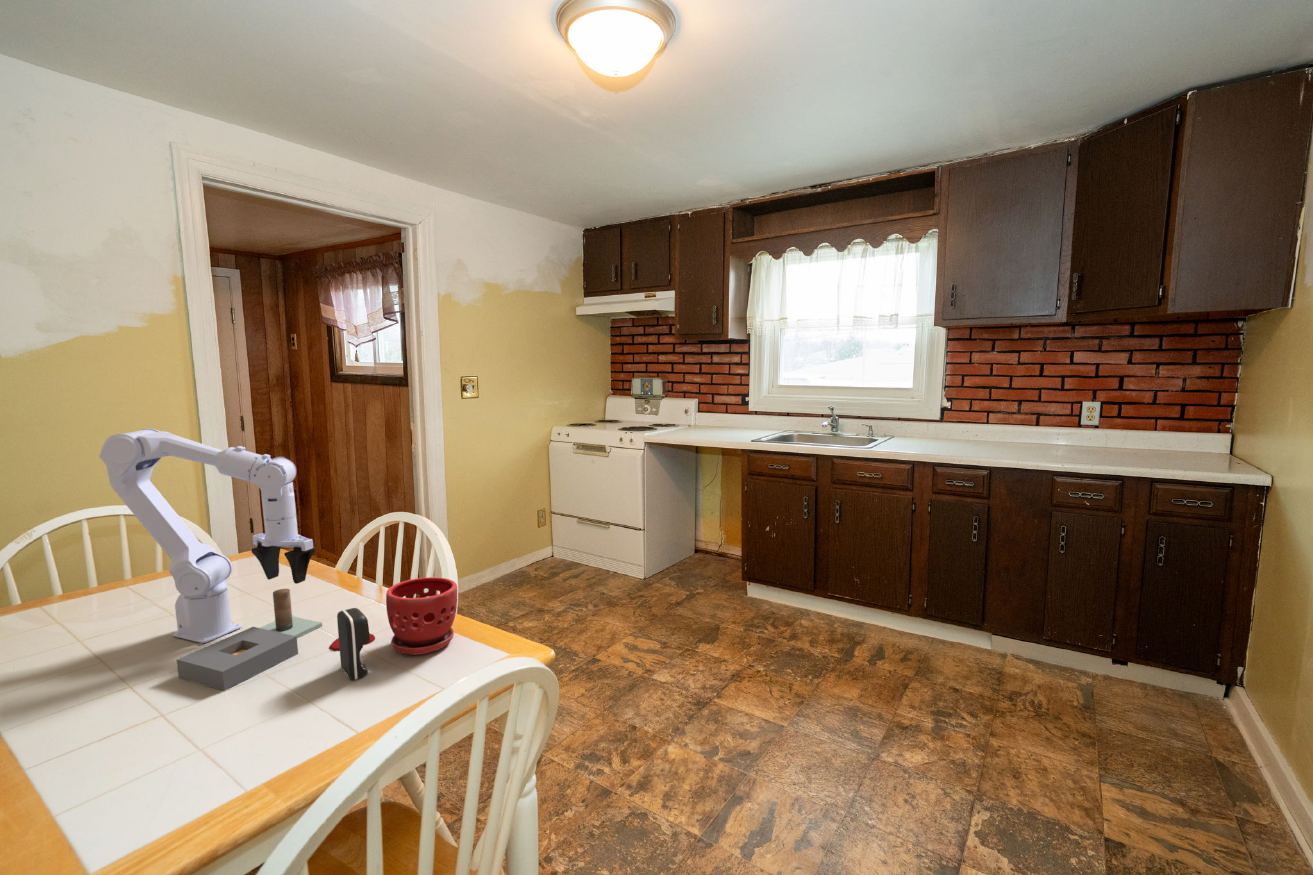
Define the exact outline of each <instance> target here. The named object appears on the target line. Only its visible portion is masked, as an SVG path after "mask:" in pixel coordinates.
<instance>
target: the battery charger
mask: <svg viewBox="0 0 1313 875" xmlns="http://www.w3.org/2000/svg"><path fill="white" fill-rule="evenodd" d="M336 617H337V620H336V622H337V632H338V638H339V647H340V651H339V656H340V667H341V669H342V670H343V672H344V673H345V675H347V677H348V678H349V679H350V681H353V680H358V679H360V678H363V677H365V676H366V675H367V674H369V673H368V672H369V671H368V668H367V666H365V665H364V664H363V662H362V661H361V651H362V649H363V648H364V645H363V644H366V643H368V642H369V640H370V635H369V633H370V627H369V620H368V618H367V617H366V615H365V614H364V613H363V612H362V611H361V610H360V609H359V608H357V607H352V608H348V609H347V608H346V609H342V610H339V611H338V612H337V616H336Z"/></svg>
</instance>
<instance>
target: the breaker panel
mask: <svg viewBox="0 0 1313 875" xmlns="http://www.w3.org/2000/svg"><path fill="white" fill-rule="evenodd" d="M242 649H244V650H246V651H244V652H241V653H239V654H237V655H232V654H234V653H236V652H238V651H240V650H242ZM298 654H299V647H298V638H297V636H292V635H288V634H283V633H279V632H275V631H270V630H266V629H261V627H256V626H251V627H249V628H247V629H245V630H241V631H239V632H237V633H235V634H233V635H231V636H228V637H226V638H223V639H221V640H218V641H216V642H213V643H212V644H209V645H207V646H204V647H202V648H200V649H198V650H195V651H193V652H191V653H188V654H186V655H184V656H181V657H179V658H177V659H176V666H177V676H178V678H179V679H182V680H186V681H188V682H192V683H196V684H199V685H203V686H206V687H210V688H214V689H217V690H220V691H224V692H226V691H227V690H229V689H231V688H233V687H235V686H237V685H239V684H241V683H243V682H245V681H247V680H249V679H251V678H253V677H255V676H256V675H259V674H261V673H263V672H264V671H267V670H269V669H271V668H272V667H274V666H276V665H279V664H281V663H284V661H285V662H286V660H289V659H291V658H292V657H294V656H296V655H298Z"/></svg>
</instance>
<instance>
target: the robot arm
mask: <svg viewBox="0 0 1313 875" xmlns="http://www.w3.org/2000/svg"><path fill="white" fill-rule="evenodd" d="M164 457H175V458H179V459H184V460H188V461H192V462H197V463H202V464H206V465H209V466H214V467H215V468H216V469H217V472H218V473H219V474H220V475H223V476H228V477H232V478H235V479H239V480H242V481H246V482H250V483H252V484H253V483H255V485H256V486H257V487H258V488H259V489H260V492H261V503H262V504H261V505H262V514H263V524H264V533H261V532H260V533H257V534H254V535H252V544H253V545H254V546H256V547H253V548H252V549H251V554H253V555H254V556H255V558H256V559H257V560H258V562H259V564H260V566H261V567H262V568H261V569H262V570H263V573H264V574H265V577H266V579H267V580H269V581H270V580H272V579H273V580H274V579H275V578H277V577H279V576H280V575H279V574H280V560H279V559H280V553H281V549H282V548H288V549H289V548H290V549H292V550H288V551H287V552H286V551H285V552H284V554H283V555H284V556H285V558H286V560H287V562H288V565H289V567H290V570H291V575H292V581H293V583H294V585H295V584H296V585H297V584H300V583H302V582H305V581H306V579H307V578H306V577H307V573H308V567H309V564H310V561H311V559H312V556H313V555H314V553H315V552H316V548H315V546H314V542H313V539H312V538H308V537H305V536H302V535H301V534H299V533H298V521H297V520H298V519H297V510H296V500H295V499H296V498H295V492H294V482H293V481H294V479H295V478H296V476H297V467H296V465H295V464H294V462H293V461H291V460H290V459H288V458H285V456H277V457H274V458H271V454H267V453H264V454H259V453H255V452H251V451H248V450H246V447H245V446H242V445H239V446H235V447H233V446H230V447H227V448H226V449H223V450H222V449H219V448H216V447H213V446H210V445H206V444H203V443H202V442H198V441H195V440H192V439H188V438H186V437H182V436H180V435H177V434H174V433H171V432H170V431H165V430H161V431H160V430H158V429H156V428H147V427H146V428H143V429H142V428H141V430H136V431H135V430H134V431H130V432H124V433H116V434H113V435H110V436H109V437H107V438H106V439H105V441H104V443H103V445H102V447H101V450H100V453H99V458H100V460H101V461H102V463H104V464H105V466H106V470H107V475H108V479H109V480H108V481H109V483H110V486H111V488H112V490H113V491H114V492H115V493H116V494H117V496H118V497H119V498H120V499H121V500H122V502H123V503H124V504H125V505H126V507H127V508H128V509H129V510H130V512H131V513H132V514H133V515H134V516H135V518H136V519H137V520H138V521H139V522H140V523H141V525H142V526H143V527H144V528H145V530H146V531H147V532H148V533H149V535H150V536H151V537H152V538H153V540H155V542H156V543H157V544H158V545H159V547H161V549H162V550H163V551H164V552H165V554H166V555H167V556H168V558H170V564H169V568H168V573H169V575H171V577H172V578H173V580H174V587H175V588H176V591H178V593H179V596H177V598H176V600H175V605H174V607H175V608H174V609H175V616H176V617H175V618H176V619H175V620H176V627H177V631H175V632H174V633H172V635H173V637H176V638H181V639H184V640H187V641H188V640H189V641H191V642H196V643H200V644H206V643H208V642H210V641H212V640H215V639H218V638H219V637H222V636H225V635H227V634H229V633H232V632H235V631H236V630H239V629H241V628H242V627H243V625H242V624H240V623H234V622H232V616H231V607H230V606H231V605H230V597H229V586H228V580H227V579H228V578H229V577H230V576H231V574H232V572H233V564H232V562H231V560H230V559H229V558H228V557H227V556H225V555H224V554H222V553H219V552H218V551H217V550H216V549H215V548H214V547H213V546H212V545H209V544H206V543H203V542H200V541H199V539H198V538H197V537H196V535H195V534H194V533H193V532H192V531H191V530H190V528H189V527H188V525H186V523H185V522H184V521H183V519H182V518H181V517H180V516H179V515H178V513H177V512H176V511H175V509H174V508H173V507H172V506H171V505H170V503H169V502H168V500H166V498H165V497H164V496H163V495H162V494H161V492H160V491H159V490H158V489H157V488H156V486H155V485H154V484H153V482H151V476H152V475H153V471H154V468H155V467H156V465H157V464H158V463H159V462H160V461H161V459H163V458H164Z"/></svg>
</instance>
